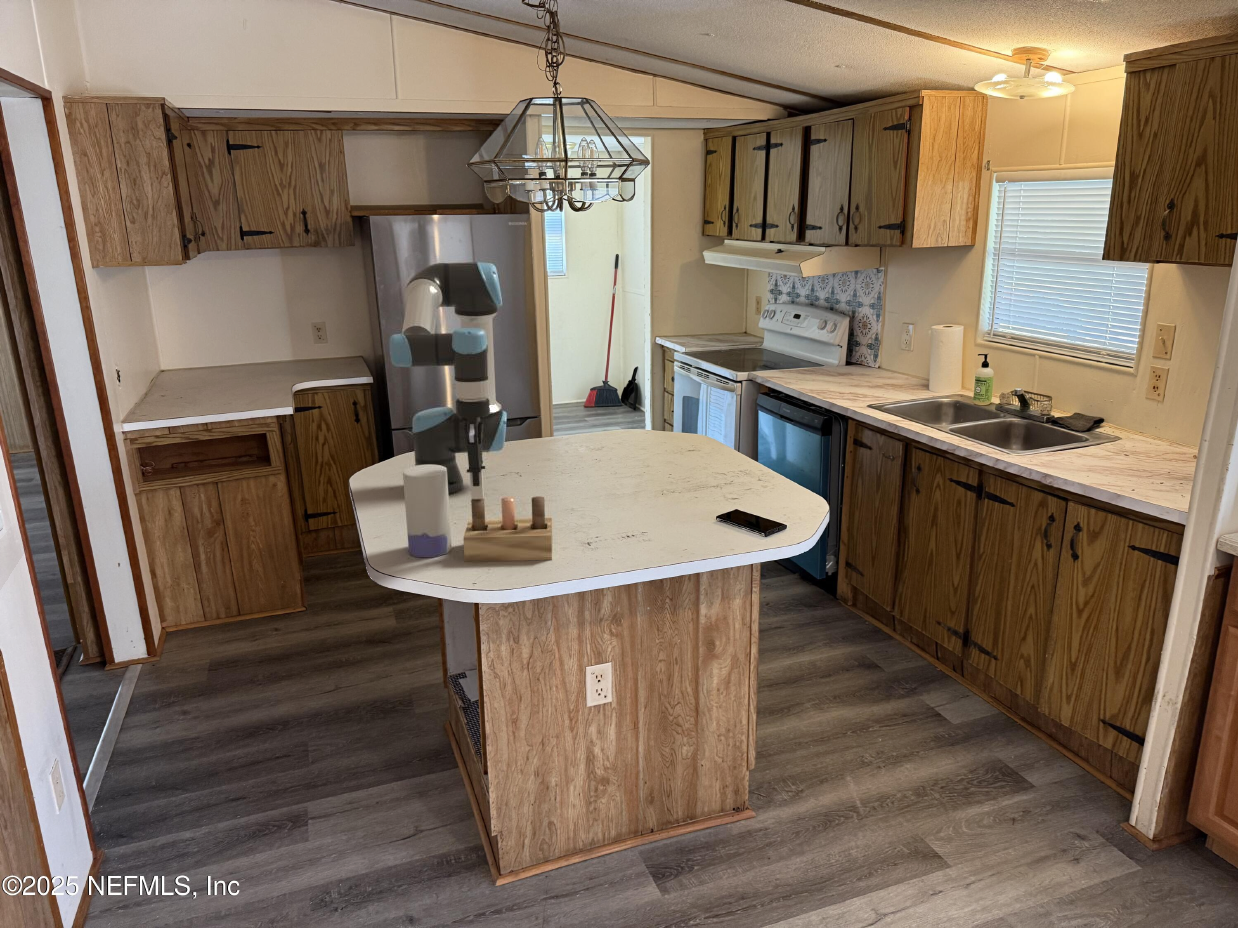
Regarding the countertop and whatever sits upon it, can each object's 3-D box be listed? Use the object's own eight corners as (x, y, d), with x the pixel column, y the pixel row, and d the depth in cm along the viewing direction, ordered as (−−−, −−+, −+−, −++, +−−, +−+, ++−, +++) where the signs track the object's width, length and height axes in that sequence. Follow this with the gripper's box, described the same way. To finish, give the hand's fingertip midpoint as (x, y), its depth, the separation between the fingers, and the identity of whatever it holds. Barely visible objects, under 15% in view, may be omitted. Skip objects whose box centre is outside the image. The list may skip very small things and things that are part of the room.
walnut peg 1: (473, 529, 204) (471, 497, 202) (486, 529, 204) (484, 497, 202) (472, 534, 201) (470, 501, 199) (485, 534, 202) (483, 501, 199)
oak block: (470, 542, 210) (468, 519, 208) (552, 540, 211) (551, 517, 209) (464, 561, 198) (463, 537, 197) (551, 559, 200) (551, 535, 198)
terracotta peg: (503, 529, 205) (501, 497, 202) (515, 528, 205) (514, 496, 203) (502, 533, 202) (500, 501, 200) (515, 533, 202) (513, 500, 200)
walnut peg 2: (532, 528, 205) (531, 496, 203) (545, 528, 205) (544, 496, 203) (532, 532, 202) (531, 500, 200) (545, 532, 202) (544, 500, 200)
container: (454, 542, 210) (449, 463, 205) (448, 557, 201) (443, 475, 195) (413, 542, 210) (407, 464, 205) (404, 558, 200) (398, 476, 195)
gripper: (458, 393, 200) (464, 489, 206) (452, 404, 187) (458, 507, 194) (491, 392, 200) (495, 489, 207) (486, 403, 188) (491, 506, 194)
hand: (477, 497), depth 200 cm, fingers closed
